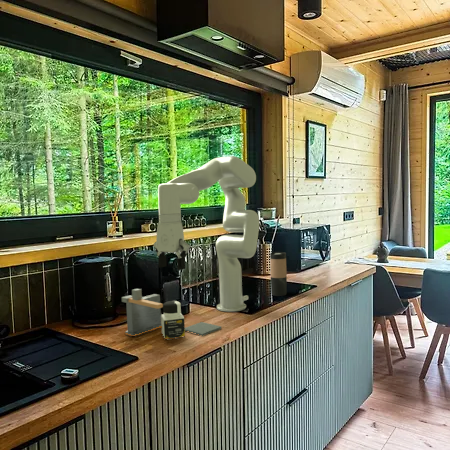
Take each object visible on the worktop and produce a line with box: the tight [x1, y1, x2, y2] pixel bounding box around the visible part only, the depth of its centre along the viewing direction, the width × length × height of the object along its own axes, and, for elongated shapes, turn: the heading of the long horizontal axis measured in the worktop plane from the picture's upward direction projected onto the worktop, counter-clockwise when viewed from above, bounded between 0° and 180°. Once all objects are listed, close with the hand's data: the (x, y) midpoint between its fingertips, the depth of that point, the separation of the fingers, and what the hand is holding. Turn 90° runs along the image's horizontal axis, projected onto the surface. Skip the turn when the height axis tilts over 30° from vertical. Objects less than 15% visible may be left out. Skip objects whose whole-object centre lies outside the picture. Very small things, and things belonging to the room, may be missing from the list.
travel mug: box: [269, 251, 288, 297], centre depth 204 cm, size 8×8×20 cm
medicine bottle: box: [161, 300, 186, 339], centre depth 149 cm, size 7×7×12 cm
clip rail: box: [125, 293, 162, 335], centre depth 156 cm, size 14×4×12 cm, turn 139°
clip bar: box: [121, 288, 164, 309], centre depth 145 cm, size 4×19×5 cm, turn 49°
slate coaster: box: [185, 321, 222, 337], centre depth 155 cm, size 10×10×1 cm
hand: (171, 268), depth 149 cm, fingers open, 9 cm apart
